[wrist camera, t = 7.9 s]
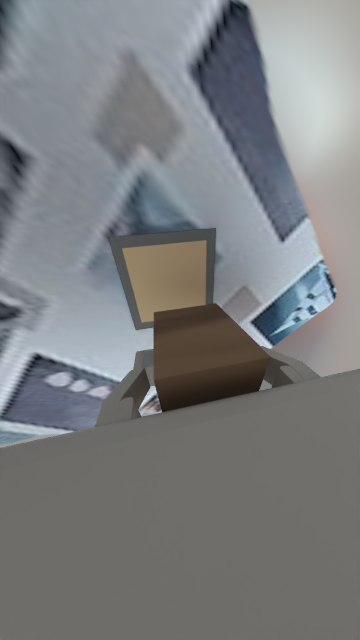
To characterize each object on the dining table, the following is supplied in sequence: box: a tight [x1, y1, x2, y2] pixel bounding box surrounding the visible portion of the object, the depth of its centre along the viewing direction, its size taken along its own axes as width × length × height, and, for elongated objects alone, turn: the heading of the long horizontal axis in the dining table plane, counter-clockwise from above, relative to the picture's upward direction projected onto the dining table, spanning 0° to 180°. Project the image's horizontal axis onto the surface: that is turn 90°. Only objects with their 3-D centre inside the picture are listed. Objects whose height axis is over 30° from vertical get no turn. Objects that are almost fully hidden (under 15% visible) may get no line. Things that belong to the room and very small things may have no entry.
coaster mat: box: [108, 228, 216, 330], centre depth 24 cm, size 16×16×1 cm
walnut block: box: [154, 303, 271, 412], centre depth 9 cm, size 5×5×6 cm
